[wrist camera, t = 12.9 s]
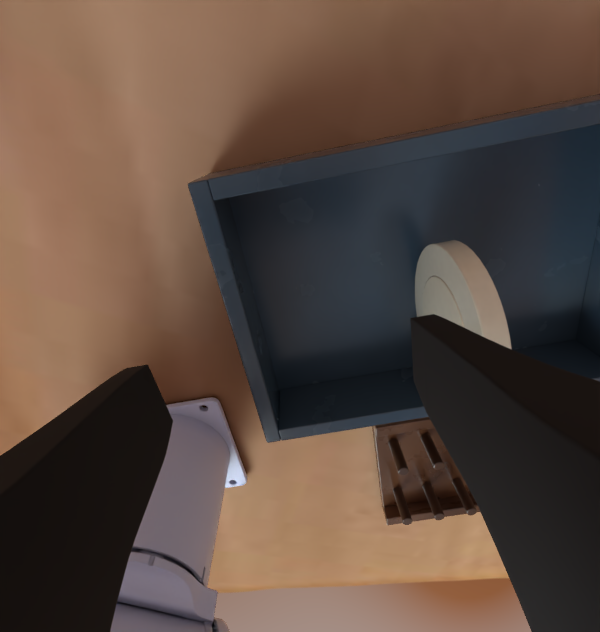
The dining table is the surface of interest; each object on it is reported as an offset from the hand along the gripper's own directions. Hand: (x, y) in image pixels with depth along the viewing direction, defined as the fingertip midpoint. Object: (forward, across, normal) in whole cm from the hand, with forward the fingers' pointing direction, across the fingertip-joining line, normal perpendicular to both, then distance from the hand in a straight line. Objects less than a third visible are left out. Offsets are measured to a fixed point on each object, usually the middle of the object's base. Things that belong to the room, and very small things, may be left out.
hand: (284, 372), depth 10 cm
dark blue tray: (+10, -7, +2) cm, 13 cm away
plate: (+10, -7, +2) cm, 12 cm away
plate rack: (+10, -8, +16) cm, 21 cm away
